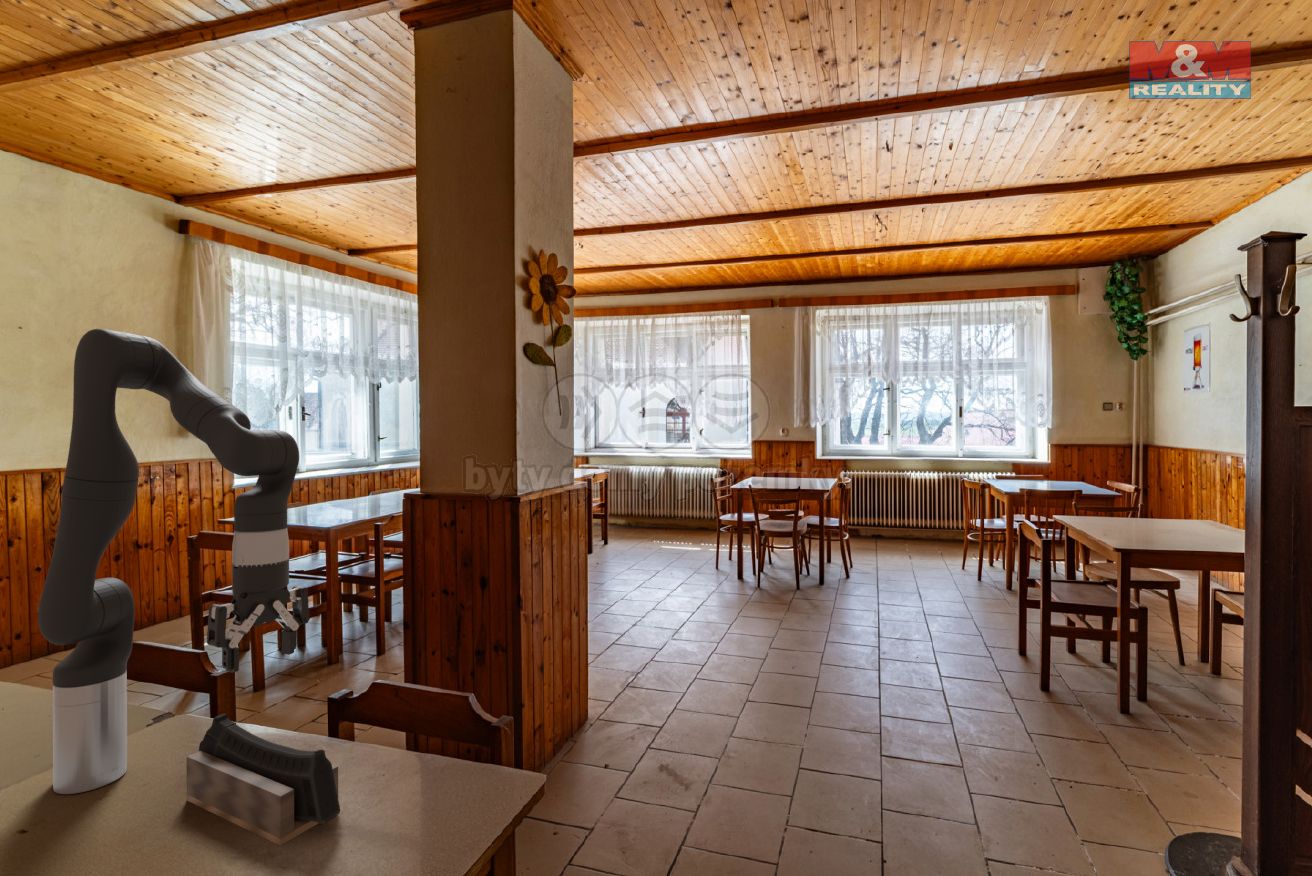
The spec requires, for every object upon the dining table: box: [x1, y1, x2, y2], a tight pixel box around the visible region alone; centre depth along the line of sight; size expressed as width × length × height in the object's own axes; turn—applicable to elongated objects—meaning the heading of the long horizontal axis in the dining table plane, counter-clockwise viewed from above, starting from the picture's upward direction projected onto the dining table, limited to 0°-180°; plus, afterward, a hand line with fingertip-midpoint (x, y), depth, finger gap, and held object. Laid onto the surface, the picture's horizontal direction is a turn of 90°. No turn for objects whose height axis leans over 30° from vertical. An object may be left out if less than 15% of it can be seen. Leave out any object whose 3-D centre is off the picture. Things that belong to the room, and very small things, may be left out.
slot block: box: [186, 738, 339, 847], centre depth 98 cm, size 24×9×7 cm, turn 63°
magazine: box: [197, 713, 341, 825], centre depth 97 cm, size 17×3×30 cm
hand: (260, 662), depth 98 cm, fingers open, 8 cm apart
